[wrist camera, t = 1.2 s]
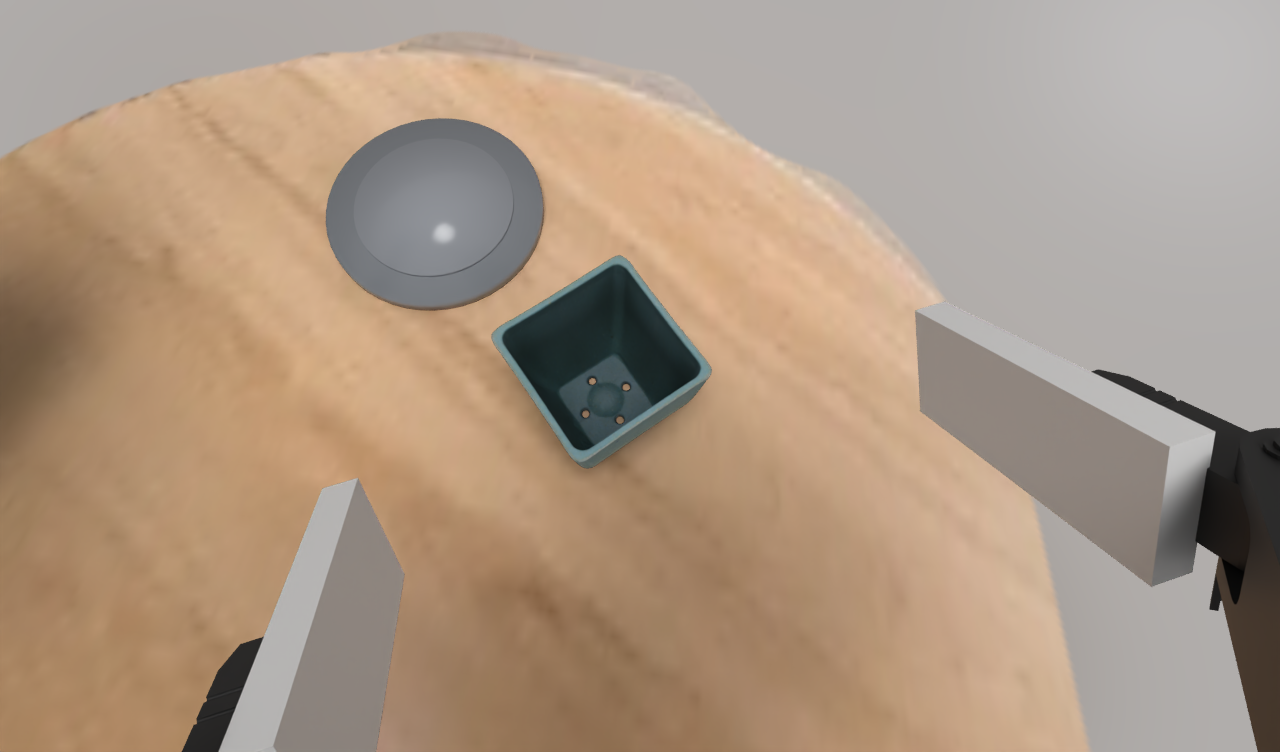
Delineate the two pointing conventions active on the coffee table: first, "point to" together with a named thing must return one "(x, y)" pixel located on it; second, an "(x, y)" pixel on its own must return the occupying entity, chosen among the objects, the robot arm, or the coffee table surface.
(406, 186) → the saucer
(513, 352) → the flower pot
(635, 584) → the coffee table surface
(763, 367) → the coffee table surface
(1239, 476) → the robot arm
